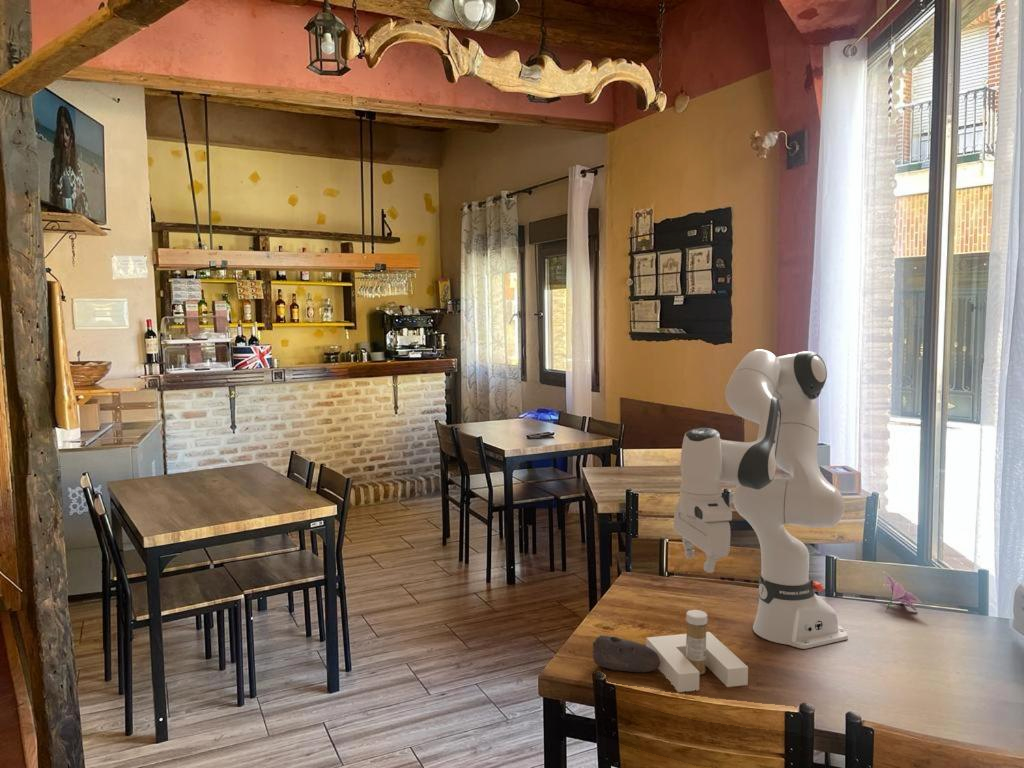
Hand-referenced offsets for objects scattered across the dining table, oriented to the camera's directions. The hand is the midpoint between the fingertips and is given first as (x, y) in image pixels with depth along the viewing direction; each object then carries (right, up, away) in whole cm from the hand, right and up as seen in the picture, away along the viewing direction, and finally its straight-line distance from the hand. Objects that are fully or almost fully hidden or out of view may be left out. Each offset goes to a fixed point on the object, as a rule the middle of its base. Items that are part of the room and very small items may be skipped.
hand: (699, 564), depth 160 cm
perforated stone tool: (-16, -25, +3) cm, 29 cm away
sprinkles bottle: (0, -25, +2) cm, 25 cm away
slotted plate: (0, -24, +3) cm, 25 cm away
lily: (+64, -22, +36) cm, 76 cm away
